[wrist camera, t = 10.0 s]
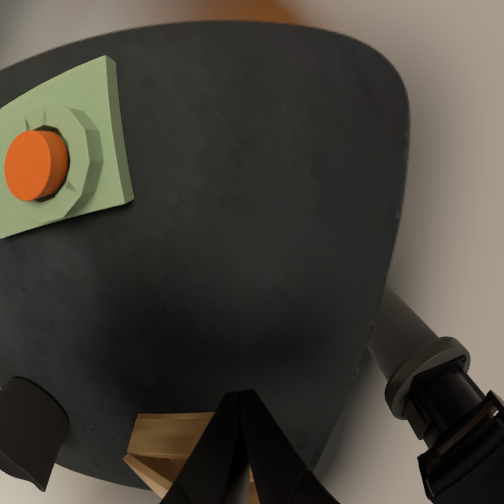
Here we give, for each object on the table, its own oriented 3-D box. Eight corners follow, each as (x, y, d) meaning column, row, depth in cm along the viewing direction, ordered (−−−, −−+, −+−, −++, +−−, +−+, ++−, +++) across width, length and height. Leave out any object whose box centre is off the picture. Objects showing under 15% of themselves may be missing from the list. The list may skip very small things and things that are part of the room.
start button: (64, 121, 11) (46, 119, 10) (73, 186, 13) (56, 191, 11) (19, 143, 11) (0, 144, 10) (28, 202, 13) (10, 208, 11)
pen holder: (10, 358, 20) (-36, 420, 11) (81, 412, 22) (50, 486, 13) (5, 394, 22) (-28, 446, 13) (63, 438, 24) (40, 496, 15)
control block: (116, 62, 13) (92, 45, 10) (135, 199, 16) (112, 210, 13) (-10, 125, 13) (-39, 126, 10) (7, 234, 16) (-21, 248, 13)
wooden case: (260, 406, 22) (265, 449, 18) (275, 476, 27) (279, 507, 23) (137, 413, 22) (126, 451, 18) (186, 481, 27) (183, 510, 23)
